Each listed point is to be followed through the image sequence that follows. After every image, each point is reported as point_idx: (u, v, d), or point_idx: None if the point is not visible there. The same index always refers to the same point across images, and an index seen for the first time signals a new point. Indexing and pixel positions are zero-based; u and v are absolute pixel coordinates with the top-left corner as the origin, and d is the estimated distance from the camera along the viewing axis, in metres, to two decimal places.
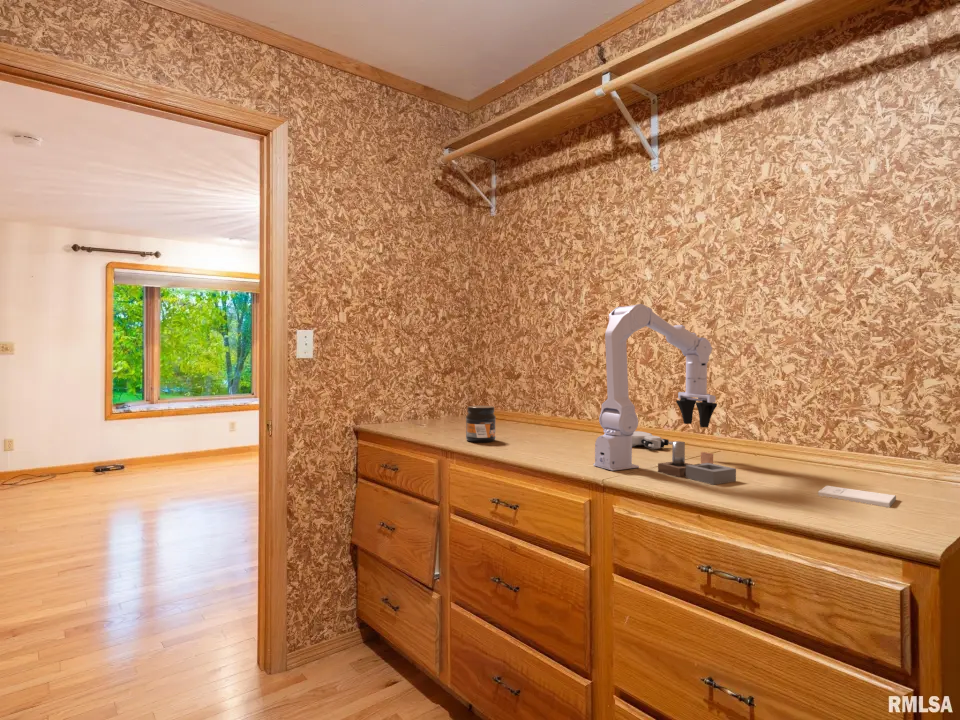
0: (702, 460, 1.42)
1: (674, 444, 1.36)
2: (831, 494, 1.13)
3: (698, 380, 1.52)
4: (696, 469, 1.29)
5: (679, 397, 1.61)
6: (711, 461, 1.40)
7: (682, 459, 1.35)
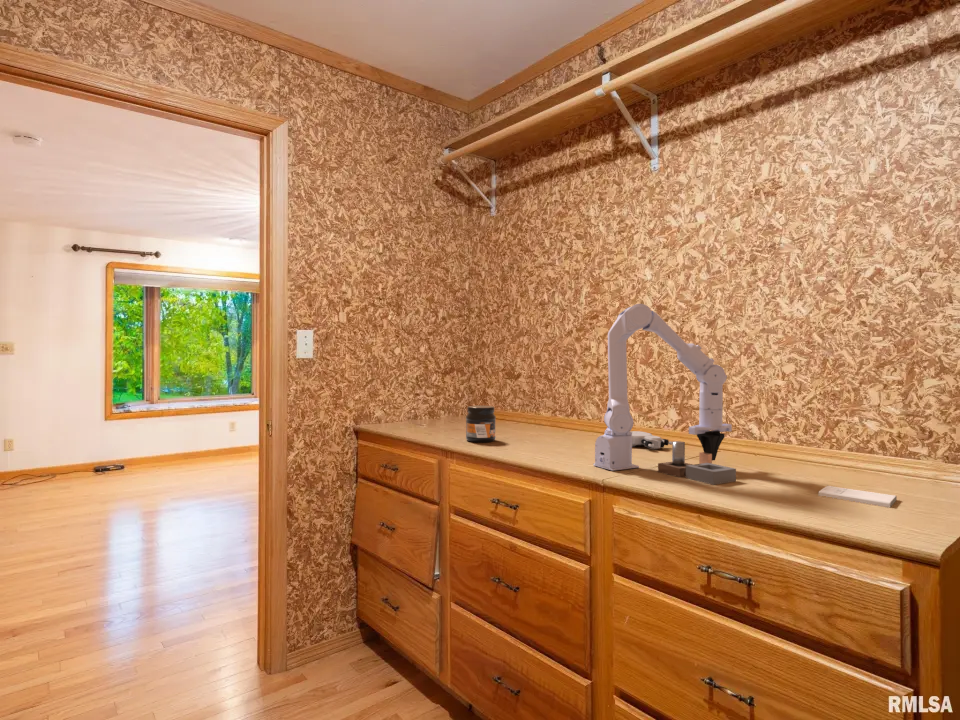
0: (701, 460, 1.42)
1: (674, 444, 1.36)
2: (832, 494, 1.13)
3: (700, 410, 1.42)
4: (696, 469, 1.29)
5: None
6: (710, 461, 1.40)
7: (682, 459, 1.35)
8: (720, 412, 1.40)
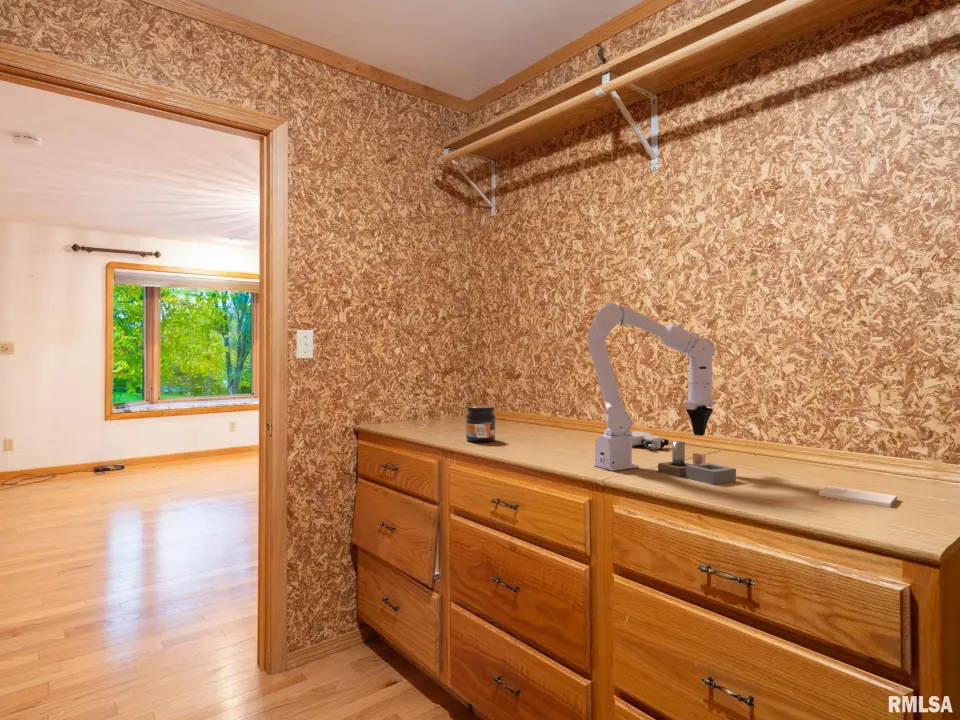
0: (694, 461, 1.40)
1: (674, 444, 1.36)
2: (832, 494, 1.13)
3: (691, 385, 1.39)
4: (696, 469, 1.29)
5: None
6: (703, 462, 1.39)
7: (682, 459, 1.35)
8: (711, 386, 1.38)
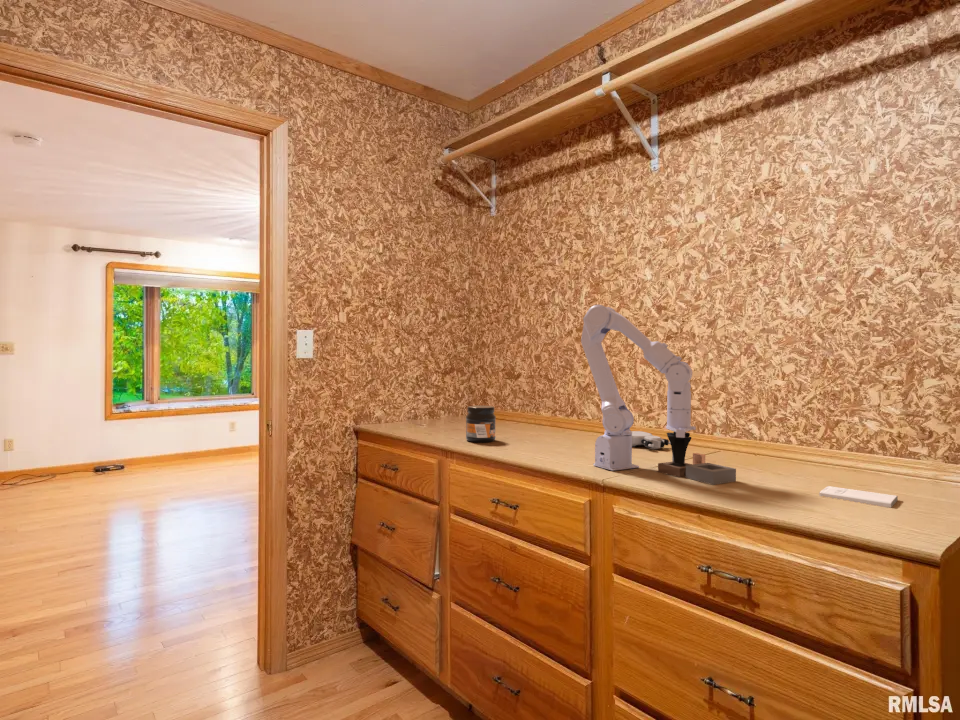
0: (694, 461, 1.40)
1: None
2: (832, 494, 1.13)
3: (674, 411, 1.34)
4: (696, 469, 1.29)
5: None
6: (703, 462, 1.39)
7: None
8: None
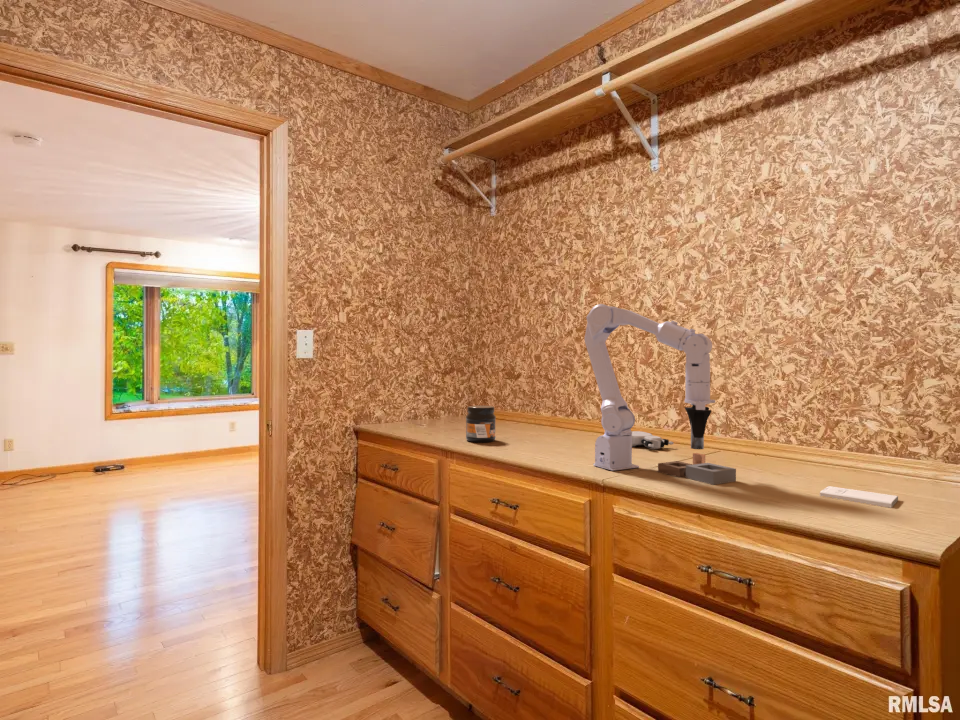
0: (694, 461, 1.40)
1: None
2: (833, 494, 1.13)
3: (693, 383, 1.30)
4: (696, 469, 1.29)
5: (691, 403, 1.39)
6: (703, 462, 1.39)
7: None
8: None
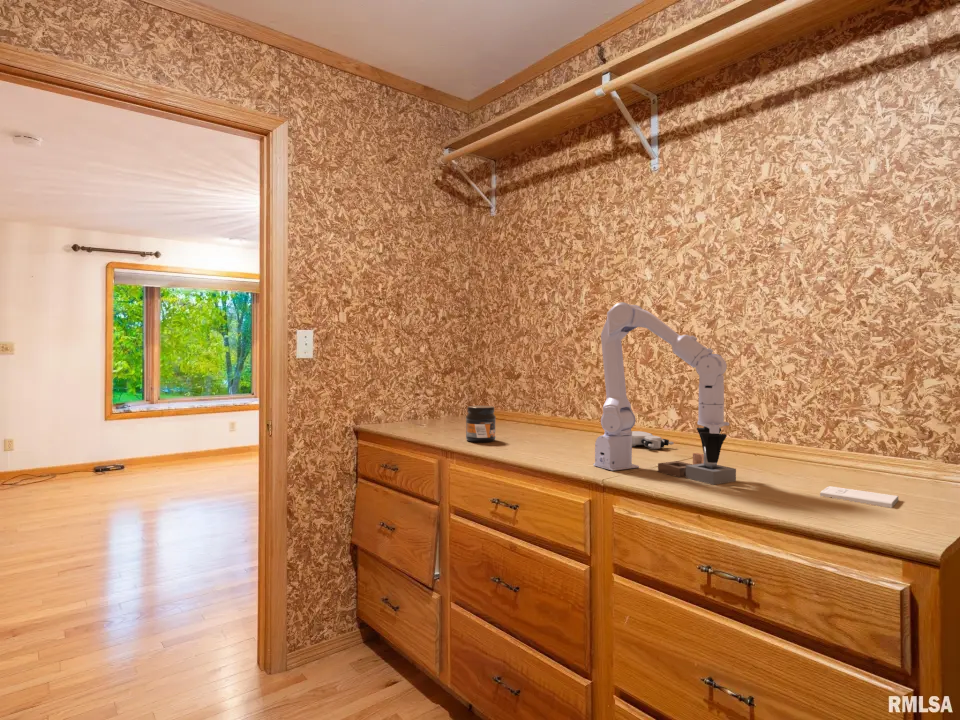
0: (694, 461, 1.40)
1: None
2: (833, 494, 1.13)
3: (707, 406, 1.27)
4: (696, 469, 1.29)
5: None
6: (703, 462, 1.39)
7: (714, 465, 1.28)
8: None
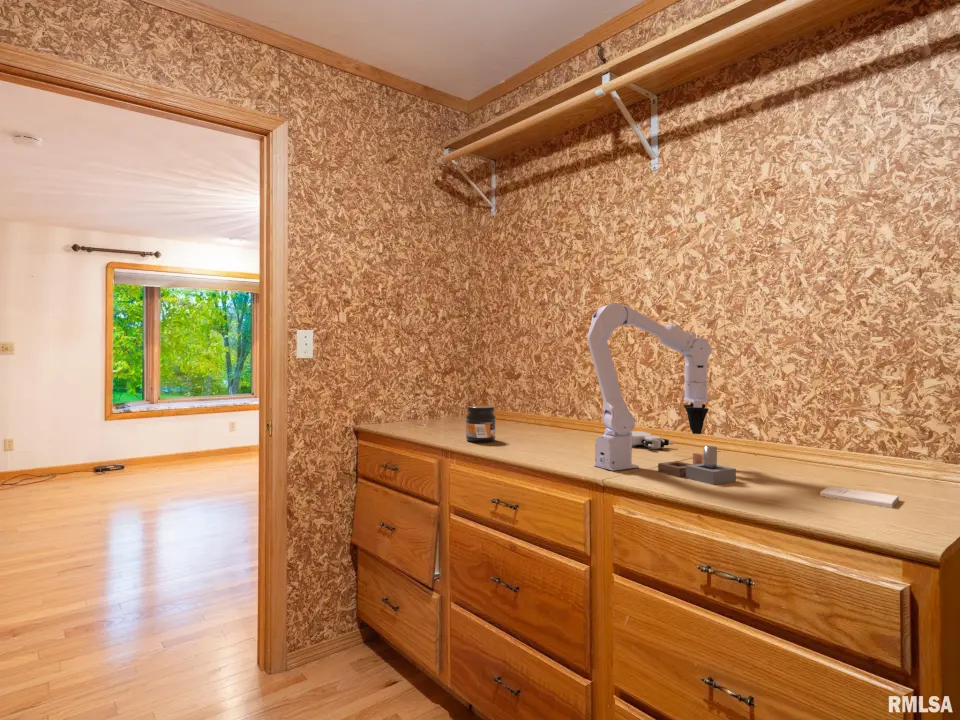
0: (694, 461, 1.40)
1: (705, 449, 1.29)
2: (833, 495, 1.13)
3: (692, 383, 1.42)
4: (696, 469, 1.29)
5: (690, 401, 1.51)
6: (703, 462, 1.39)
7: (714, 465, 1.28)
8: None
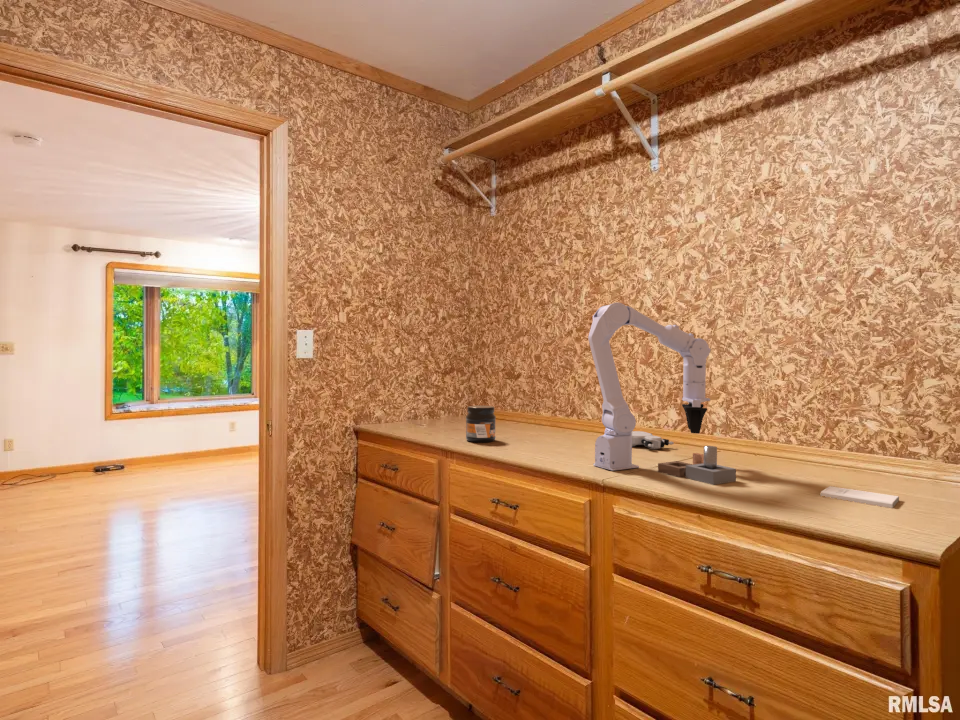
0: (694, 461, 1.40)
1: (705, 449, 1.29)
2: (834, 495, 1.13)
3: (690, 383, 1.44)
4: (696, 469, 1.29)
5: (688, 401, 1.53)
6: (703, 462, 1.39)
7: (714, 465, 1.28)
8: None
